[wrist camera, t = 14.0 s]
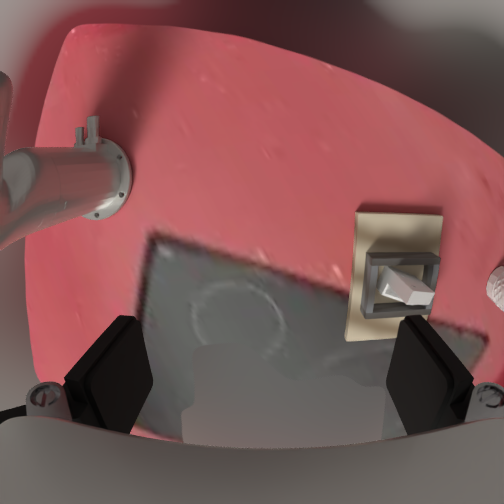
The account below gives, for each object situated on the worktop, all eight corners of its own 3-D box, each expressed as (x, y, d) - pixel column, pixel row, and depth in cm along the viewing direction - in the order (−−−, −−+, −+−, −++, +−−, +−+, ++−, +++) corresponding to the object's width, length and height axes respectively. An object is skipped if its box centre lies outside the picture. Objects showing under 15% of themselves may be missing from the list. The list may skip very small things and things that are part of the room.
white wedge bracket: (364, 259, 39) (413, 291, 32) (401, 267, 44) (443, 293, 37) (354, 284, 40) (399, 317, 33) (392, 288, 45) (432, 315, 38)
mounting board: (355, 211, 41) (364, 217, 37) (438, 214, 41) (453, 220, 36) (344, 336, 47) (350, 351, 43) (419, 330, 46) (430, 343, 42)
